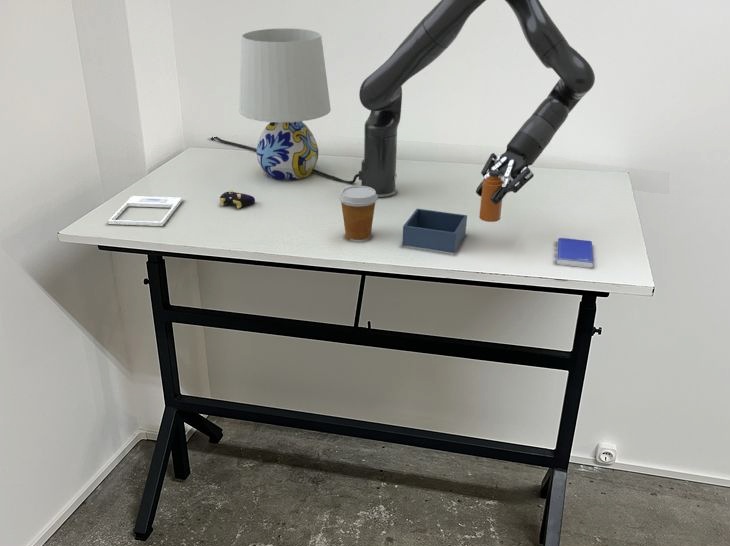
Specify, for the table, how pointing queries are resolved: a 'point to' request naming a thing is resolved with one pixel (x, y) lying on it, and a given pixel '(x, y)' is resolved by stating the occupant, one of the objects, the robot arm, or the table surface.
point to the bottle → (489, 187)
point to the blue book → (575, 252)
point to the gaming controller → (236, 199)
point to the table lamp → (284, 96)
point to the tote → (434, 230)
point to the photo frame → (147, 202)
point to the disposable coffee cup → (358, 211)
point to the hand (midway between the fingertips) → (485, 198)
